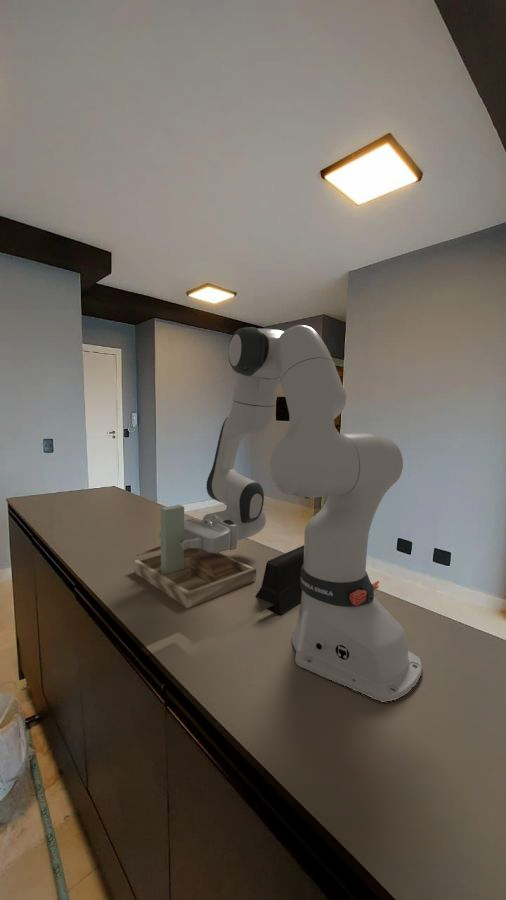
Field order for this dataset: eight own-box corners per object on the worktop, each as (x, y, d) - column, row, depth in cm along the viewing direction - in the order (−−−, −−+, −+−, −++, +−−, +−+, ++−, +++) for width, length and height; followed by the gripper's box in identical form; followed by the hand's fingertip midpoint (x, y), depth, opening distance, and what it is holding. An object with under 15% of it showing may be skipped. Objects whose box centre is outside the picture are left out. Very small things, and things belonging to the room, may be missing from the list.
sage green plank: (183, 578, 92) (184, 506, 91) (166, 584, 89) (166, 509, 87) (178, 575, 94) (178, 504, 92) (160, 580, 90) (160, 507, 89)
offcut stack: (238, 578, 93) (238, 561, 92) (215, 586, 88) (215, 569, 88) (204, 561, 103) (204, 546, 102) (182, 568, 98) (182, 552, 98)
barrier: (281, 617, 78) (283, 571, 77) (250, 603, 84) (251, 560, 83) (336, 582, 96) (338, 544, 95) (307, 572, 102) (309, 536, 101)
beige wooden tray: (255, 586, 92) (256, 568, 91) (187, 614, 78) (187, 594, 77) (198, 558, 109) (198, 543, 109) (134, 577, 95) (134, 560, 95)
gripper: (193, 510, 107) (149, 518, 97) (241, 526, 92) (194, 537, 82) (193, 531, 107) (149, 542, 98) (240, 550, 93) (194, 565, 83)
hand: (170, 540), depth 90 cm, fingers open, 8 cm apart
